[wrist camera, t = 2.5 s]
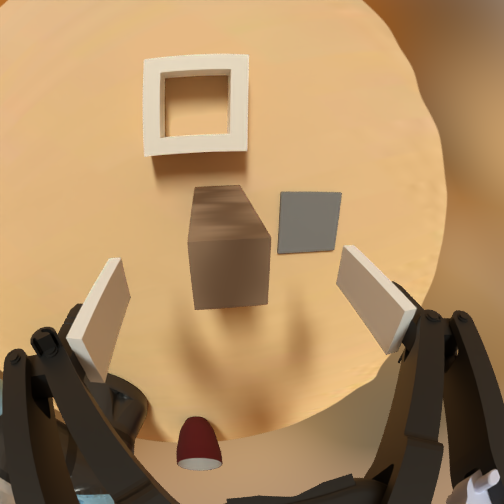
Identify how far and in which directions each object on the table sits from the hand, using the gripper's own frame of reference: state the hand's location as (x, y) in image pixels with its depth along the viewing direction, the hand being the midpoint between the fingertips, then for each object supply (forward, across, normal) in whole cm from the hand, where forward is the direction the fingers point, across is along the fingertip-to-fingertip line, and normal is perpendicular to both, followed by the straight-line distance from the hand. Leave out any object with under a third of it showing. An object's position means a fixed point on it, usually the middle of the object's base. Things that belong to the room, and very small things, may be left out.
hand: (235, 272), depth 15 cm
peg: (+14, 0, 0) cm, 14 cm away
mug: (+13, -6, -42) cm, 45 cm away
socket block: (+14, -2, +10) cm, 17 cm away
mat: (+14, +10, -2) cm, 17 cm away
